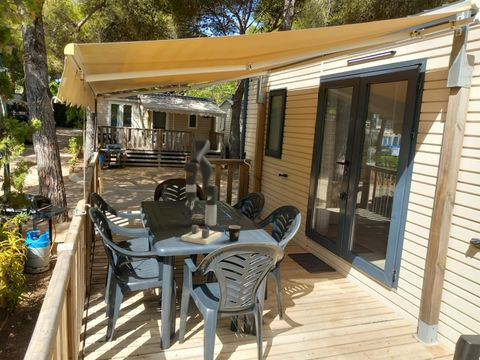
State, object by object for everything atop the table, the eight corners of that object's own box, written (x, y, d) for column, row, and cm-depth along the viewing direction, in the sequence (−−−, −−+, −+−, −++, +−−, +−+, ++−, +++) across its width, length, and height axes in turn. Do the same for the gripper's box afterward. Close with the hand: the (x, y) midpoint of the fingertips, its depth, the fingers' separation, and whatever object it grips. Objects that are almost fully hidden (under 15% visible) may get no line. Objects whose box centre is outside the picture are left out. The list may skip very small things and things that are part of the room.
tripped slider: (193, 231, 283) (194, 224, 282) (198, 232, 281) (198, 225, 280) (191, 232, 279) (191, 225, 279) (196, 233, 278) (196, 226, 277)
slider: (204, 235, 273) (204, 229, 272) (209, 236, 271) (209, 229, 270) (201, 237, 269) (201, 230, 269) (206, 237, 268) (206, 231, 267)
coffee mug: (238, 238, 282) (239, 225, 280) (240, 242, 273) (241, 228, 272) (223, 238, 280) (223, 225, 279) (224, 242, 272) (225, 228, 270)
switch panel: (198, 232, 293) (198, 228, 293) (221, 236, 286) (221, 232, 285) (181, 240, 271) (181, 235, 271) (206, 244, 264) (206, 240, 263)
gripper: (191, 188, 277) (190, 212, 279) (181, 191, 264) (180, 215, 267) (200, 190, 274) (199, 213, 276) (190, 192, 262) (190, 217, 264)
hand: (190, 214), depth 271 cm, fingers closed
